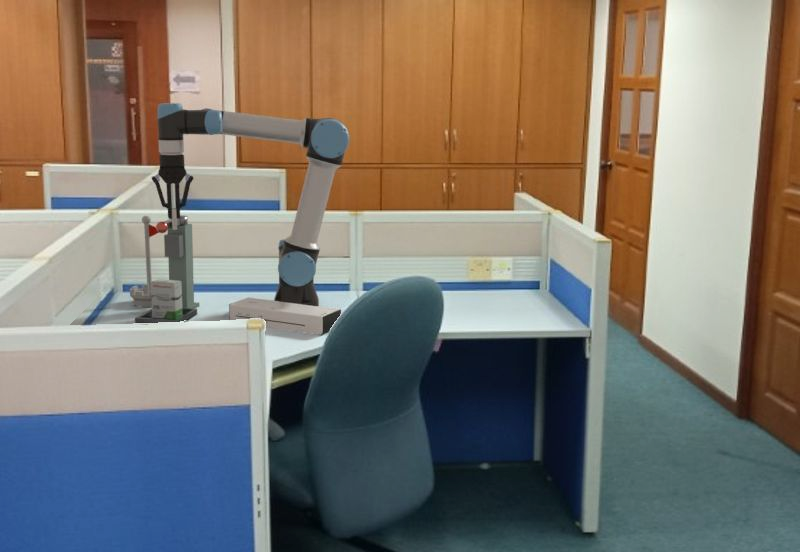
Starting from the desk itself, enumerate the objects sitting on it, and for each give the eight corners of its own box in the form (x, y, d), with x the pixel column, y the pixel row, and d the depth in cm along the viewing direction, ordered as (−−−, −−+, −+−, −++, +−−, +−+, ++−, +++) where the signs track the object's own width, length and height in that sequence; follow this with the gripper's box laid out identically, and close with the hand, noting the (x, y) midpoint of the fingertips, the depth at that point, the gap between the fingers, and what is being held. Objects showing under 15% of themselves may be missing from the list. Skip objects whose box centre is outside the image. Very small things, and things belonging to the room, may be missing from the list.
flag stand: (126, 307, 307) (121, 218, 301) (134, 299, 320) (130, 213, 314) (166, 307, 308) (162, 218, 302) (173, 298, 321) (169, 212, 315)
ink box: (183, 316, 295) (182, 280, 292) (175, 320, 290) (174, 283, 288) (159, 314, 297) (158, 278, 295) (151, 317, 293) (149, 280, 290)
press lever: (175, 224, 305) (174, 213, 305) (189, 224, 305) (189, 213, 304) (152, 233, 285) (151, 222, 284) (167, 234, 285) (167, 222, 284)
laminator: (229, 323, 292) (228, 304, 290) (251, 314, 303) (250, 296, 301) (323, 336, 278) (323, 316, 277) (342, 327, 289) (342, 308, 288)
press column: (199, 306, 311) (197, 223, 306) (186, 313, 301) (184, 228, 295) (174, 304, 313) (171, 222, 307) (160, 312, 302) (158, 227, 296)
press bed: (197, 314, 300) (197, 308, 300) (177, 326, 285) (177, 320, 284) (156, 311, 302) (156, 306, 302) (135, 323, 287) (134, 318, 286)
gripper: (191, 152, 292) (194, 226, 296) (149, 153, 288) (153, 227, 293) (193, 154, 285) (196, 230, 289) (150, 154, 281) (153, 231, 286)
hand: (174, 228), depth 291 cm, fingers closed
